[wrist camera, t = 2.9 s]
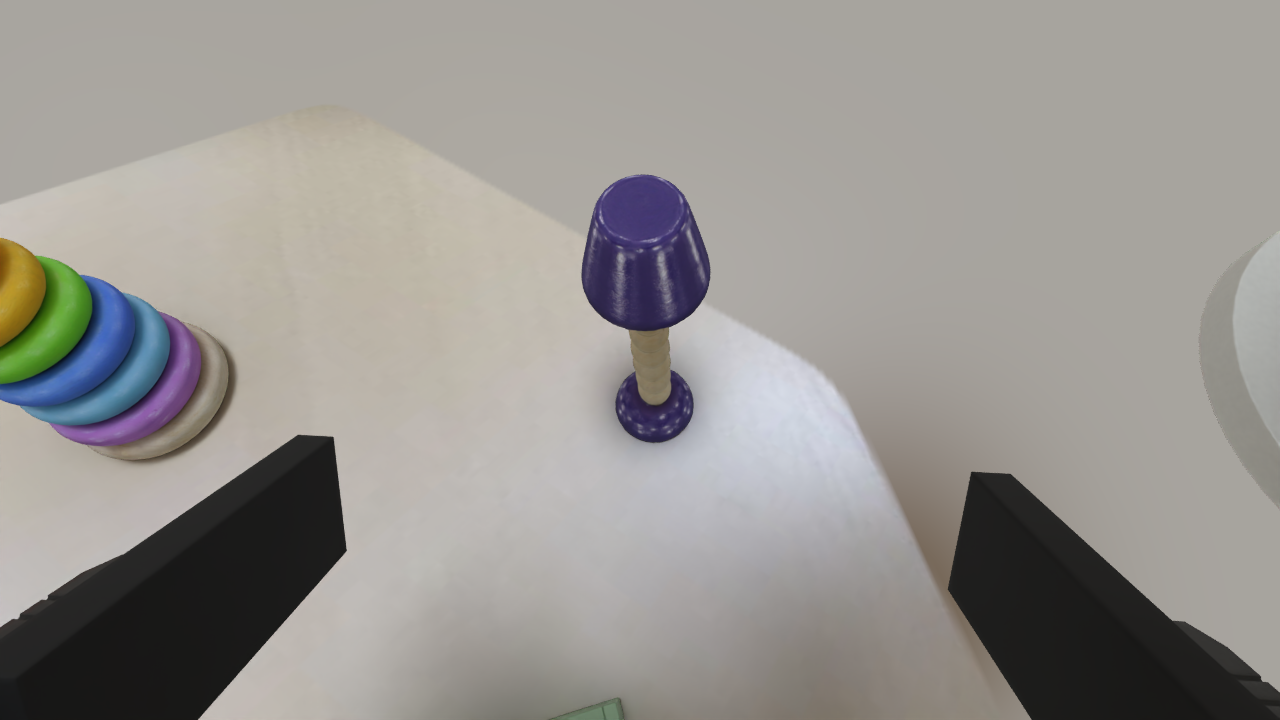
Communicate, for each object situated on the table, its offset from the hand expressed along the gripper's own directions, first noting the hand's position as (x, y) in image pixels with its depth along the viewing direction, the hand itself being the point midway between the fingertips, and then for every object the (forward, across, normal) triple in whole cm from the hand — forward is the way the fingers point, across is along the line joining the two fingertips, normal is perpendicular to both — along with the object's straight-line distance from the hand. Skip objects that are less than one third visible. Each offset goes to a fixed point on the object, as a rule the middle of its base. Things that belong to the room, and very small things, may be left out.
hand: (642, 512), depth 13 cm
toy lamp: (+21, -1, -5) cm, 22 cm away
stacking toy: (+20, -28, -6) cm, 35 cm away
